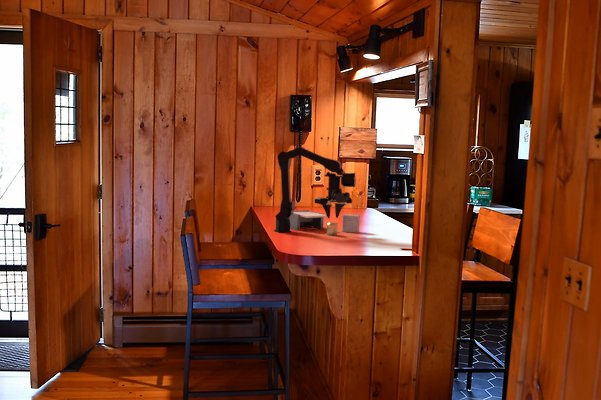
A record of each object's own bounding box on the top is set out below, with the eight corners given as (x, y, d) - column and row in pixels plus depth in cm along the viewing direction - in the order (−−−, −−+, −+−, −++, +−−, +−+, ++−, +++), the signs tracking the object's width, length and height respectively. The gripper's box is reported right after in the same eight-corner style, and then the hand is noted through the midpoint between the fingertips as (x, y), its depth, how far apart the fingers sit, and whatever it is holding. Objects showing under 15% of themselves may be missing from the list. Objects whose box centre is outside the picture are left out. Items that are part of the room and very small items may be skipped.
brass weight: (330, 236, 320) (331, 223, 320) (324, 234, 324) (325, 222, 324) (339, 235, 323) (339, 223, 322) (333, 234, 327) (333, 221, 326)
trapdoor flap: (306, 225, 330) (306, 215, 329) (288, 221, 344) (288, 211, 344) (327, 224, 336) (327, 215, 336) (308, 220, 351) (309, 210, 350)
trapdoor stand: (297, 230, 334) (297, 214, 333) (282, 226, 347) (282, 211, 346) (323, 228, 342) (323, 213, 342) (307, 224, 355) (308, 210, 354)
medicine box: (359, 232, 337) (359, 215, 336) (357, 233, 333) (358, 216, 332) (343, 230, 339) (344, 214, 338) (342, 232, 335) (342, 215, 334)
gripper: (327, 187, 309) (326, 221, 311) (359, 187, 319) (358, 219, 321) (314, 185, 319) (313, 218, 320) (346, 185, 329) (344, 216, 330)
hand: (332, 218), depth 323 cm, fingers open, 4 cm apart
